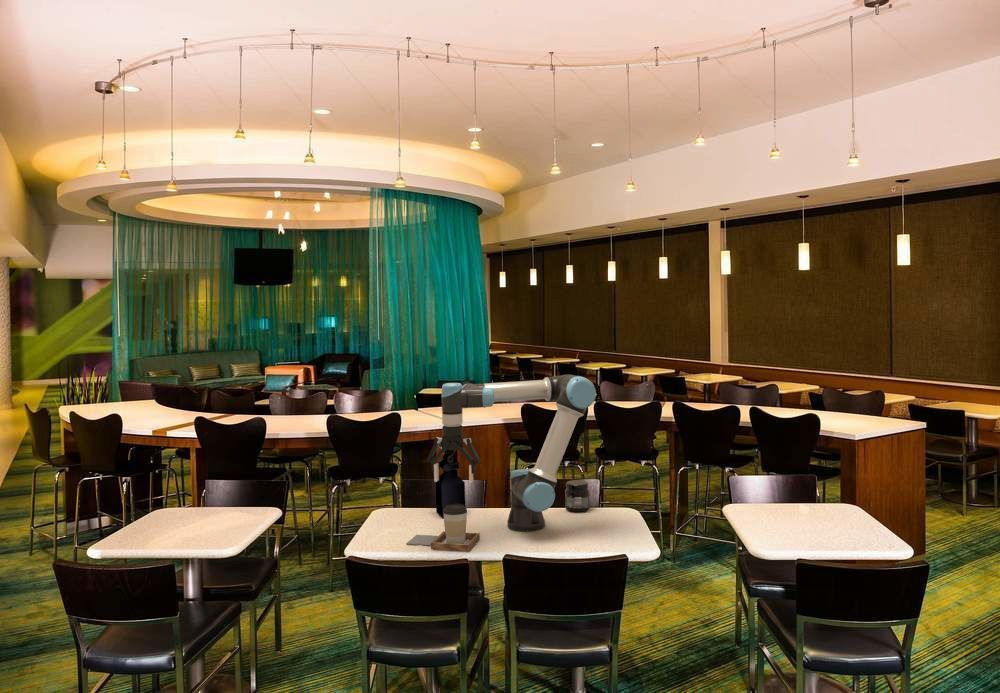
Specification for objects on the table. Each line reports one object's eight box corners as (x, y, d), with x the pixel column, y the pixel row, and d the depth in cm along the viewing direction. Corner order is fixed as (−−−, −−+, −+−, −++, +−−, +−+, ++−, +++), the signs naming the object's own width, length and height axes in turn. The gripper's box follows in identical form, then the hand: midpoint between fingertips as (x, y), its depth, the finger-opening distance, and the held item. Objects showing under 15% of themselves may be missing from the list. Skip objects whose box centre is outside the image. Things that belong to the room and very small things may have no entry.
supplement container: (578, 505, 321) (578, 478, 321) (594, 510, 312) (594, 483, 312) (560, 509, 315) (559, 482, 315) (576, 514, 306) (575, 486, 306)
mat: (443, 537, 280) (443, 536, 280) (433, 546, 269) (433, 545, 269) (416, 535, 283) (416, 534, 283) (406, 544, 272) (406, 543, 272)
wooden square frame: (479, 539, 276) (479, 533, 276) (469, 552, 262) (468, 545, 262) (443, 537, 280) (443, 531, 280) (431, 549, 266) (430, 543, 266)
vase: (431, 511, 318) (429, 431, 316) (457, 508, 322) (455, 429, 320) (439, 519, 304) (437, 436, 303) (466, 516, 308) (463, 434, 306)
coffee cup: (455, 539, 277) (454, 500, 276) (473, 543, 271) (472, 504, 271) (438, 545, 270) (437, 505, 270) (456, 550, 264) (455, 509, 264)
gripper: (487, 423, 269) (488, 480, 270) (424, 422, 275) (425, 478, 276) (482, 427, 262) (483, 485, 263) (417, 425, 268) (418, 482, 269)
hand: (453, 481), depth 270 cm, fingers open, 13 cm apart
